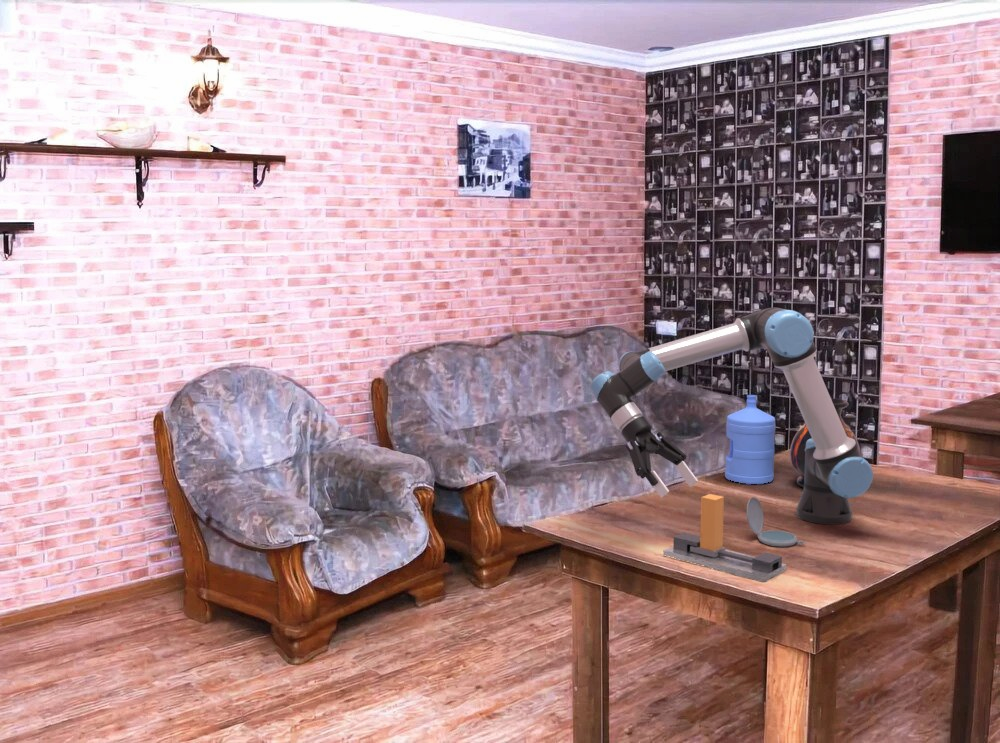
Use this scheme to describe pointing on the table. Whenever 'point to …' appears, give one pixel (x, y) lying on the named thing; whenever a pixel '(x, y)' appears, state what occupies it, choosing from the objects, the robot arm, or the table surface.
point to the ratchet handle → (713, 529)
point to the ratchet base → (727, 560)
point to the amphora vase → (803, 435)
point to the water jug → (750, 445)
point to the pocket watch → (769, 536)
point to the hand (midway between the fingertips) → (680, 489)
